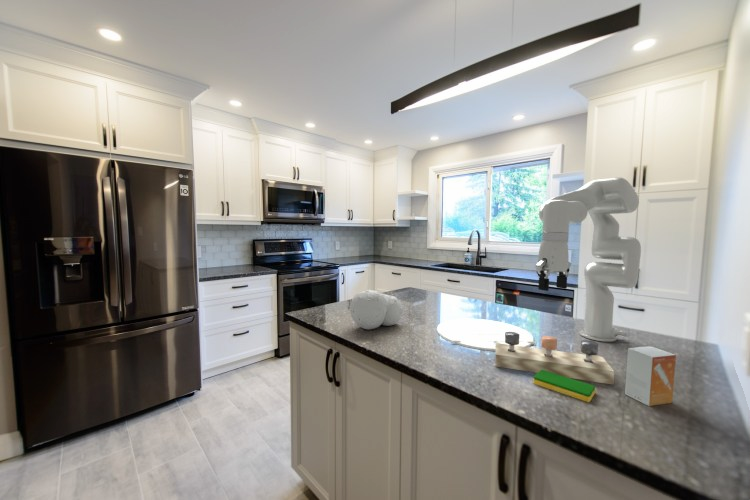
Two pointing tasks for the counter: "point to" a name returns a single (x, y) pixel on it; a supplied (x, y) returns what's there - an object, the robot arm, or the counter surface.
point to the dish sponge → (565, 385)
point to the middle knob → (549, 344)
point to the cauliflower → (375, 309)
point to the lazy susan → (481, 333)
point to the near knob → (589, 349)
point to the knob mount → (554, 363)
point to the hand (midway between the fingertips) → (552, 289)
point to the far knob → (511, 340)
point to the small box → (650, 375)
